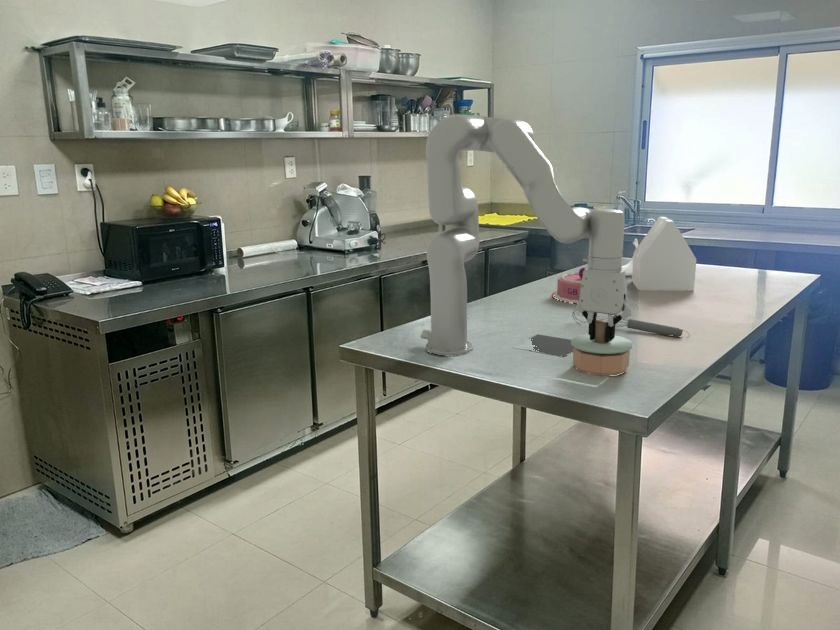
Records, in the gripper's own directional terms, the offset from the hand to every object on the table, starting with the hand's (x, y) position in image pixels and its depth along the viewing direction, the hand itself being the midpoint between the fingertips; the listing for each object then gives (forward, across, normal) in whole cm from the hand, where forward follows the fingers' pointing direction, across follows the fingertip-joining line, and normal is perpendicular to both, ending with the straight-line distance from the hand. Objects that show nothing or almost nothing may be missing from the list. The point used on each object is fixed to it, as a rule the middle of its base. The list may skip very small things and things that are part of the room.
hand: (601, 339), depth 158 cm
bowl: (+7, 0, 0) cm, 7 cm away
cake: (+8, -33, +71) cm, 78 cm away
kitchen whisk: (+8, -7, +37) cm, 38 cm away
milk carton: (+8, -17, +102) cm, 104 cm away
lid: (+1, 0, 0) cm, 1 cm away
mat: (+7, -18, +10) cm, 22 cm away
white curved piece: (+8, -36, +113) cm, 119 cm away
